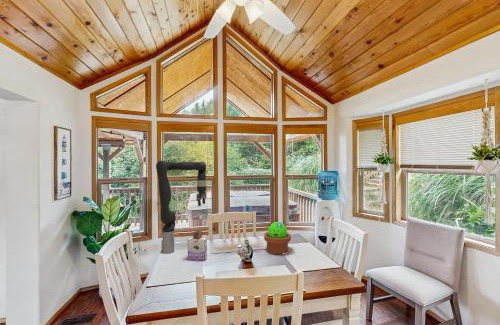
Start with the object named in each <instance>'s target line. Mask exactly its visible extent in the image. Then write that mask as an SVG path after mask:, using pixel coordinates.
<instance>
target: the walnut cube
mask: <svg viewBox="0 0 500 325" xmlns="http://www.w3.org/2000/svg"><path fill="white" fill-rule="evenodd" d="M192 233H193V234H192V235H193V236H192V237H193V239H200V238H202V237H203V230H194V231H193V232H192Z"/></svg>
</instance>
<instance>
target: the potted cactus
mask: <svg viewBox="0 0 500 325" xmlns="http://www.w3.org/2000/svg"><path fill="white" fill-rule="evenodd" d="M263 235H264V237H263V239H264V241H265V242H266V251H268V252H267V253H269V254H271V253H272V254H271V255H275V254H283V253H286V252H287V251H289V243H290V242H291V241H292V235H291V234H290V233H289V232H288V231H287V227H286V225H285V224H284V223H283V222H280V221H273V222H271V224H270V225H269V226H268V230H267V232H265V233H264V234H263ZM287 253H288V252H287ZM287 253H286V254H287ZM283 255H284V254H283Z"/></svg>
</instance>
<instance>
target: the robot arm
mask: <svg viewBox="0 0 500 325" xmlns="http://www.w3.org/2000/svg"><path fill="white" fill-rule="evenodd" d="M155 169H156V173H157V180H158V182H157V183H158V194H159V195H158V196H159V203H160V204H159V205H160V213H159V214H160V215H159V216H160V221H161V222H162V224H164V225H163V227H162V240H161V247H160V248H161V253H163V254H172V253H174V252H175V228H176V213H175V212H174V211H173V210H170V203H171V198H172V188H171V183H170V182H169V178H168V172H169V171H174V170H175V171H176V170H177V171H197V180H196V181H197V182H196V192H198V193H196V199H195V200H196V201H197V206H198V207H201V206H202V205H205V204H206V199H207V174H206V173H207V163H206V162H205V161H180V162H179V161H178V162H177V161H176V162H175V161H174V162H172V161H166V160H158V161H157V163H156V165H155ZM201 201H202V202H201Z"/></svg>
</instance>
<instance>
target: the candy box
mask: <svg viewBox="0 0 500 325" xmlns="http://www.w3.org/2000/svg"><path fill="white" fill-rule="evenodd" d="M207 259H208V237H206V236H205V237H203V236H202V238H200V239H193V236H190V237H189V238H187V261H195V262H196V261H198V262H206V260H207Z"/></svg>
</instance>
